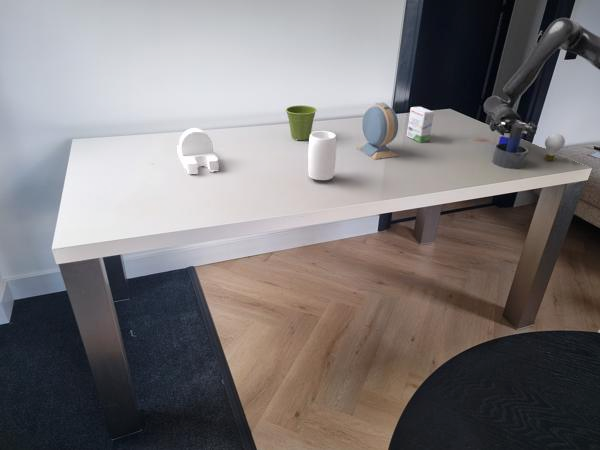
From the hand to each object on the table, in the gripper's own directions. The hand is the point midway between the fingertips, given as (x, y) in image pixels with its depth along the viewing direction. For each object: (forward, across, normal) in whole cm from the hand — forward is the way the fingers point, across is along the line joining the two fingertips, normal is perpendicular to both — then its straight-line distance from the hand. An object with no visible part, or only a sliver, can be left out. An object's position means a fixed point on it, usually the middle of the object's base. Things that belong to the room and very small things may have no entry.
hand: (517, 133), depth 141 cm
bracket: (+22, -103, +12) cm, 106 cm away
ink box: (-22, -29, +12) cm, 39 cm away
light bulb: (-9, +15, +12) cm, 21 cm away
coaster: (-24, -4, +12) cm, 27 cm away
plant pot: (-11, -75, +12) cm, 76 cm away
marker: (-2, 0, +11) cm, 11 cm away
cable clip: (-18, +3, +12) cm, 21 cm away
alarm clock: (-3, -45, +12) cm, 46 cm away
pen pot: (-2, 0, +12) cm, 12 cm away
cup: (+25, -61, +12) cm, 67 cm away
